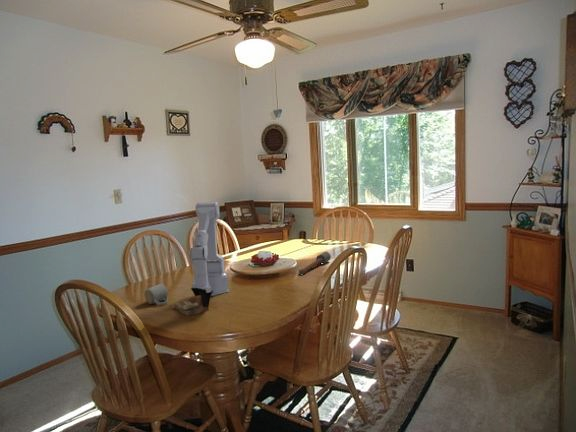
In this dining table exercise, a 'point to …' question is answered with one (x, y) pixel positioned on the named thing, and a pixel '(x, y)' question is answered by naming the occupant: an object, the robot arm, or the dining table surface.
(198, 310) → the board
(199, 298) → the block with upright post
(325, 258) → the mallet
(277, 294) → the dining table surface
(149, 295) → the ceramic mug
